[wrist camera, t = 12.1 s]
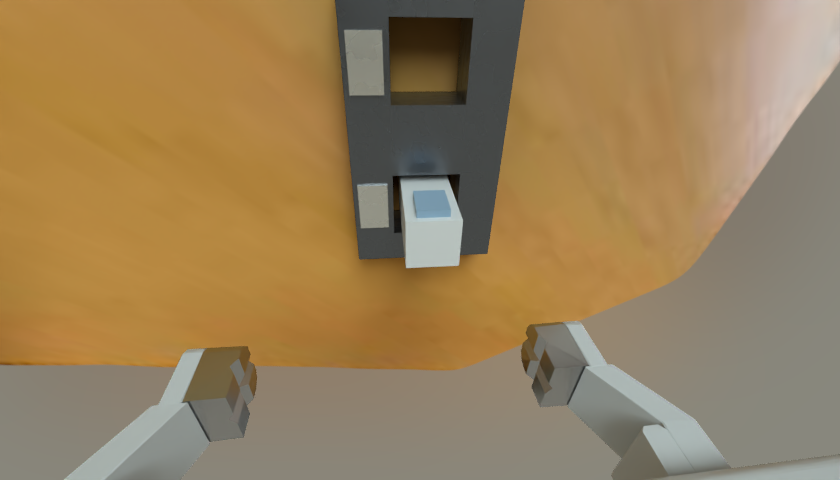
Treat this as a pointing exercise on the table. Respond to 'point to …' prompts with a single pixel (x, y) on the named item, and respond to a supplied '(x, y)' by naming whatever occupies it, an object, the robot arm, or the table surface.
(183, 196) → the table surface
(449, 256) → the plug
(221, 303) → the table surface
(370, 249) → the panel
